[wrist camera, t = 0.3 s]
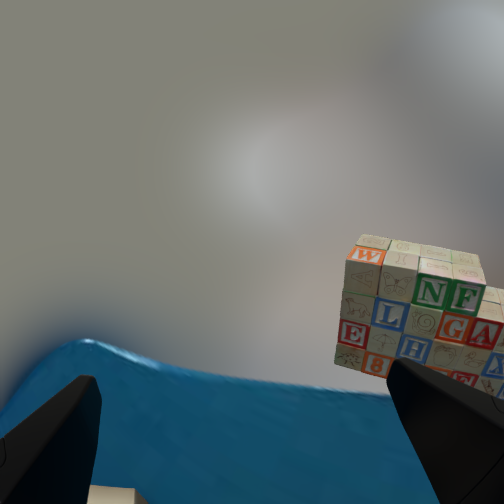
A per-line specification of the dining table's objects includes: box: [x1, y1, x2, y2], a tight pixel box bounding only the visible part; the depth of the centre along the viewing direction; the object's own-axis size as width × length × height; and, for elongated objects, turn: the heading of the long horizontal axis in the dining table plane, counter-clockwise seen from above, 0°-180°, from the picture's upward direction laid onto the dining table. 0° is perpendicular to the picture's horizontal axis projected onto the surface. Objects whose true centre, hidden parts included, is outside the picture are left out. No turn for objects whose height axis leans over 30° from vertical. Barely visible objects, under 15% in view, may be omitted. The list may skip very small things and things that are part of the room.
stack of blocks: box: [334, 234, 504, 400], centre depth 25 cm, size 21×6×12 cm, turn 58°
